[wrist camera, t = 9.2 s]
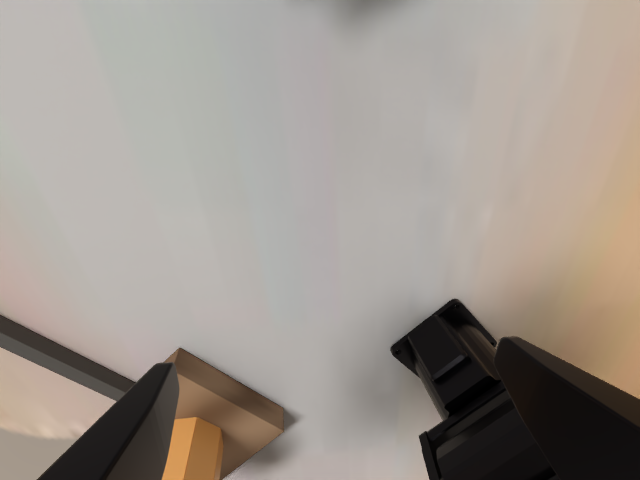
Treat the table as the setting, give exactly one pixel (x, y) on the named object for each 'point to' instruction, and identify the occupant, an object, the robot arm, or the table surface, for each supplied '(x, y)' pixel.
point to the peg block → (226, 409)
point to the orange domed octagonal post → (194, 451)
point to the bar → (61, 360)
